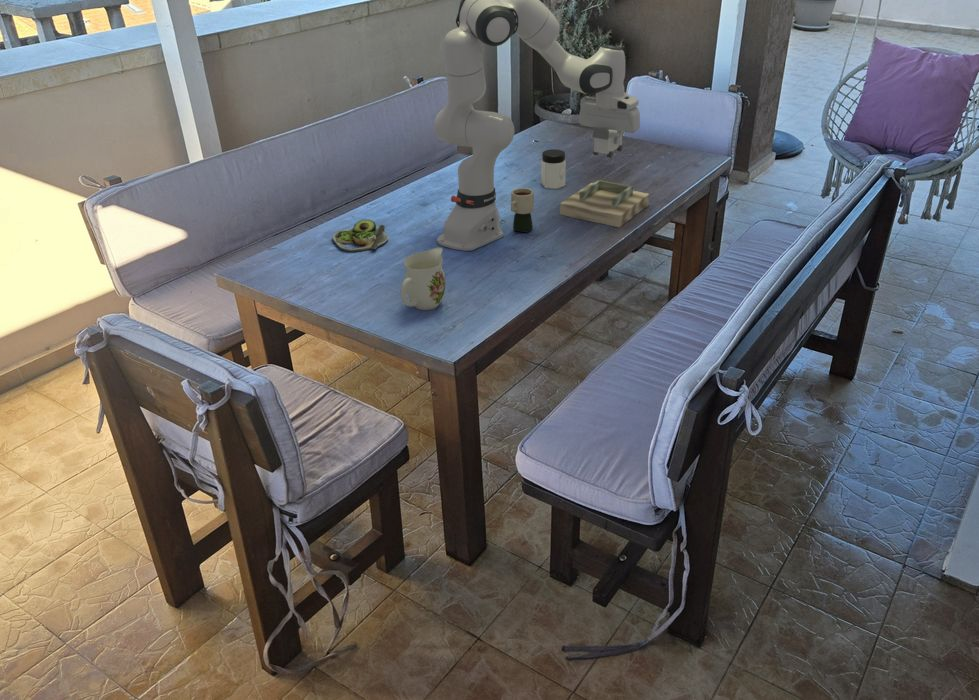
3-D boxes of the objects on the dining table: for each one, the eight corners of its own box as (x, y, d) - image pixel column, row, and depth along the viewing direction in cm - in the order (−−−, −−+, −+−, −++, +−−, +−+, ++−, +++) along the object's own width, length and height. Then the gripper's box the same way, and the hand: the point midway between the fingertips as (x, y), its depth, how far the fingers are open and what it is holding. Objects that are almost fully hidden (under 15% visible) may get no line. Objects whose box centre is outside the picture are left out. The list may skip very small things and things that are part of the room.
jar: (553, 191, 301) (553, 158, 295) (536, 185, 306) (536, 153, 300) (570, 184, 306) (570, 152, 300) (553, 179, 312) (553, 147, 305)
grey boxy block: (607, 159, 270) (609, 130, 265) (591, 156, 272) (592, 127, 267) (622, 150, 277) (624, 121, 272) (606, 147, 280) (607, 118, 275)
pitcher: (388, 315, 227) (383, 269, 220) (427, 288, 240) (424, 243, 233) (421, 325, 222) (417, 278, 215) (459, 296, 235) (457, 251, 228)
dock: (619, 227, 272) (620, 207, 268) (560, 214, 282) (560, 194, 279) (648, 205, 287) (650, 185, 283) (591, 193, 298) (591, 174, 294)
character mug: (525, 222, 278) (524, 184, 271) (542, 227, 274) (541, 189, 267) (503, 232, 271) (502, 194, 264) (520, 238, 267) (520, 199, 260)
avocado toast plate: (399, 248, 264) (398, 235, 262) (344, 260, 259) (342, 246, 256) (381, 227, 280) (380, 213, 277) (329, 237, 274) (327, 223, 272)
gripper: (575, 97, 269) (575, 140, 276) (634, 105, 259) (632, 149, 266) (585, 92, 273) (584, 134, 280) (643, 100, 263) (640, 144, 270)
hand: (608, 142), depth 273 cm, fingers closed on grey boxy block, 5 cm apart
